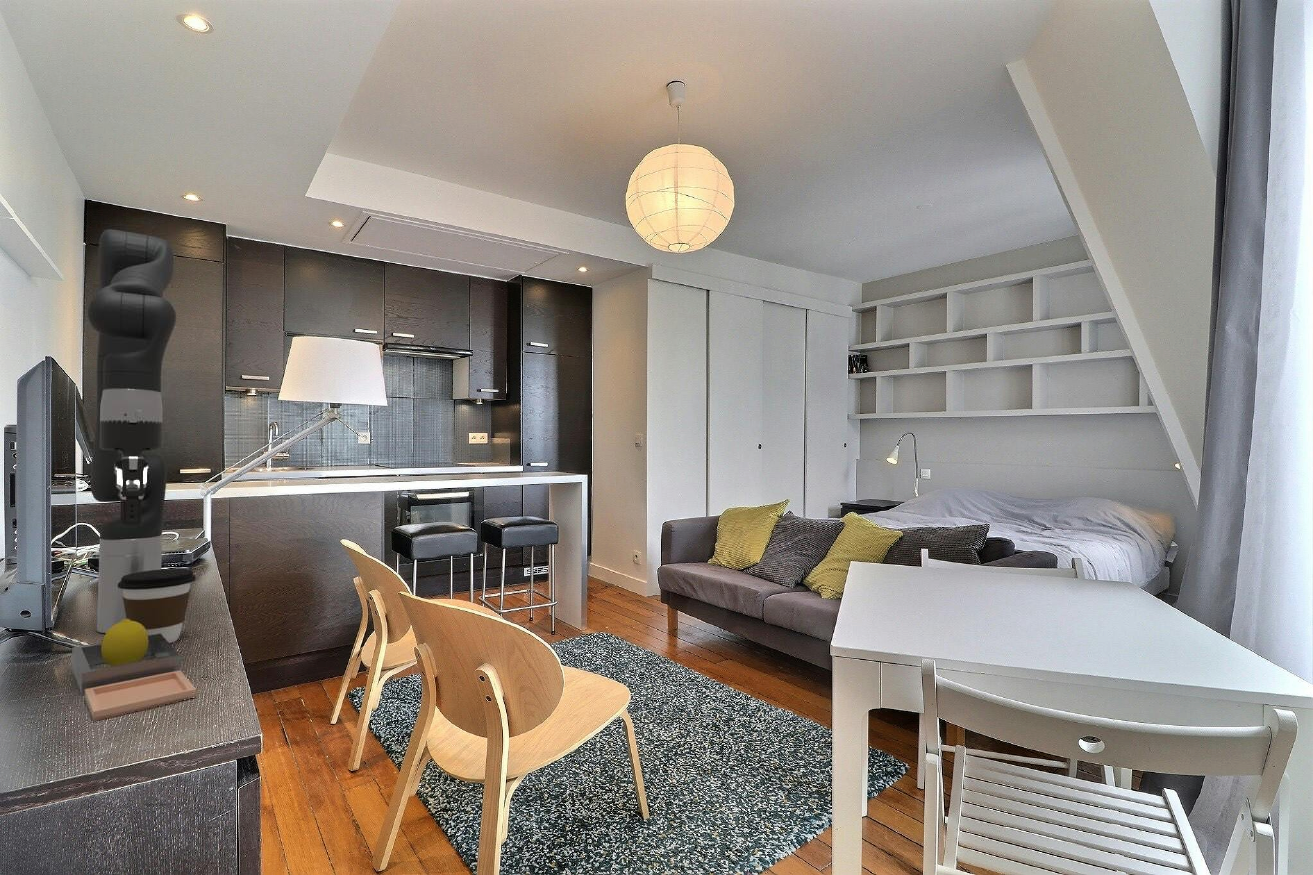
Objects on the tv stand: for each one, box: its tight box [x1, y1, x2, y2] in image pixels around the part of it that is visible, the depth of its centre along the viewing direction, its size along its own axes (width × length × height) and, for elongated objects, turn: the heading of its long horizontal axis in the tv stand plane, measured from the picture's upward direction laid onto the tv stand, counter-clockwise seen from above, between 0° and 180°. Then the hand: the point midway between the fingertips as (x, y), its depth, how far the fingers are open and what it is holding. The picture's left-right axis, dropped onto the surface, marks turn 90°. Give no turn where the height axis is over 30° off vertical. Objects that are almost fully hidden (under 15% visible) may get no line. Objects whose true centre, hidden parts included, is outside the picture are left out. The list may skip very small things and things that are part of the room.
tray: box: [84, 670, 197, 722], centre depth 86 cm, size 11×11×1 cm
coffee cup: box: [118, 568, 197, 644], centre depth 112 cm, size 11×11×12 cm
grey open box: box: [71, 633, 181, 696], centre depth 97 cm, size 16×11×3 cm
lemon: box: [101, 619, 148, 667], centre depth 97 cm, size 6×6×8 cm
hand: (130, 523), depth 98 cm, fingers open, 8 cm apart
